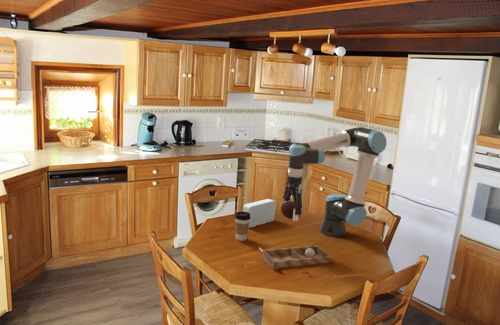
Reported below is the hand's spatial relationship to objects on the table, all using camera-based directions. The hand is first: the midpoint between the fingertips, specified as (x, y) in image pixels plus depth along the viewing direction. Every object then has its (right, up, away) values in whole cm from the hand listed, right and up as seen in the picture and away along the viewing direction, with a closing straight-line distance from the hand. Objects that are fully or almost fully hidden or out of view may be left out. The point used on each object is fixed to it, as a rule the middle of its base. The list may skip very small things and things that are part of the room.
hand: (290, 216), depth 230 cm
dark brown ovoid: (0, -1, 0) cm, 1 cm away
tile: (-12, -18, 0) cm, 22 cm away
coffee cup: (-26, -14, +14) cm, 33 cm away
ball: (+9, -20, -6) cm, 23 cm away
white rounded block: (-16, -9, +41) cm, 45 cm away
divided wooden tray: (+2, -21, -9) cm, 23 cm away
